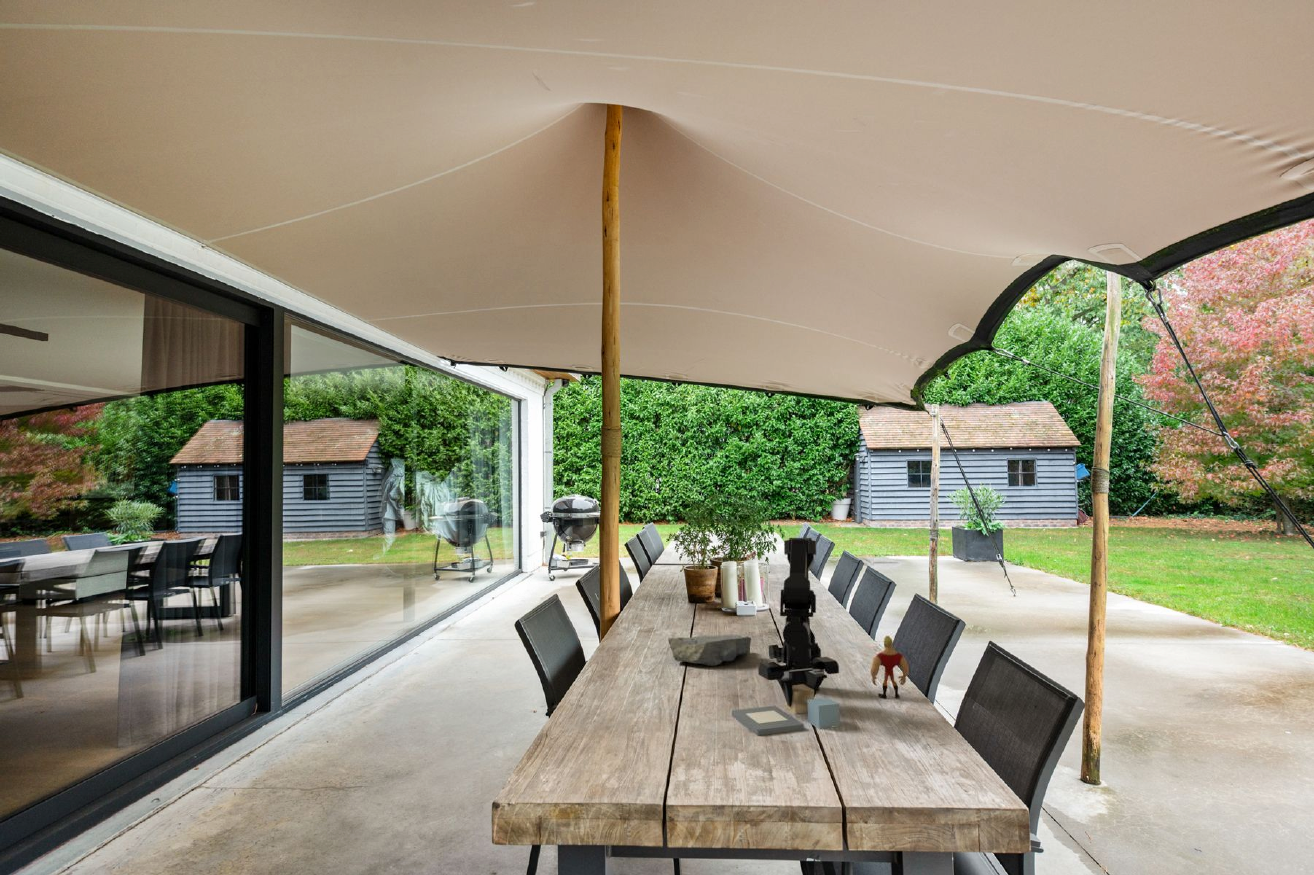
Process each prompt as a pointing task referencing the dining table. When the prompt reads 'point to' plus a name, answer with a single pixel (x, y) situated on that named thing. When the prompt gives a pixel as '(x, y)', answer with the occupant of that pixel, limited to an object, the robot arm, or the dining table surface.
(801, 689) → the oak block
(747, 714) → the board
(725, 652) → the stone
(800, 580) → the robot arm
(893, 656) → the action figure
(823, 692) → the dining table surface
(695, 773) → the dining table surface
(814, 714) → the blue block
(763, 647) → the dining table surface
